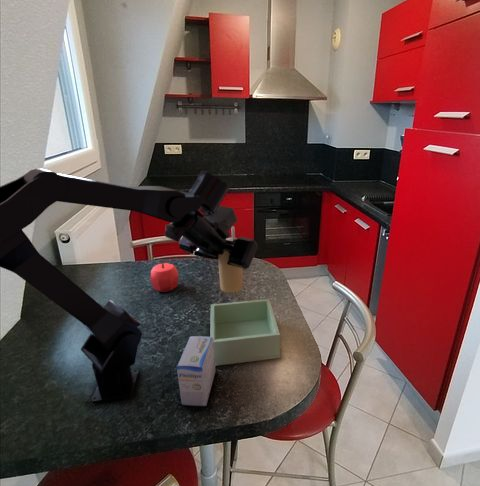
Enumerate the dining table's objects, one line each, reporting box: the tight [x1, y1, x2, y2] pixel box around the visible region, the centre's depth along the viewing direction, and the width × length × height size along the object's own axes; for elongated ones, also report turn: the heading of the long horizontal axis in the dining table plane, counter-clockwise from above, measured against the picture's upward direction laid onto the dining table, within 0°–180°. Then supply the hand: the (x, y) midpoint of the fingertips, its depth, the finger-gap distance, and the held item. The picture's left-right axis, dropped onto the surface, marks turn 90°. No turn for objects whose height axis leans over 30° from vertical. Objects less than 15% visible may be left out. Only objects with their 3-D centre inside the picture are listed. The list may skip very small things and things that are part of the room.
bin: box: [209, 298, 281, 367], centre depth 70 cm, size 14×14×6 cm
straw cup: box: [218, 225, 244, 294], centre depth 76 cm, size 6×6×15 cm
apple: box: [150, 262, 179, 293], centre depth 91 cm, size 8×8×8 cm
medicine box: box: [176, 335, 216, 407], centre depth 57 cm, size 8×4×9 cm, turn 178°
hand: (234, 260), depth 78 cm, fingers closed on straw cup, 5 cm apart
